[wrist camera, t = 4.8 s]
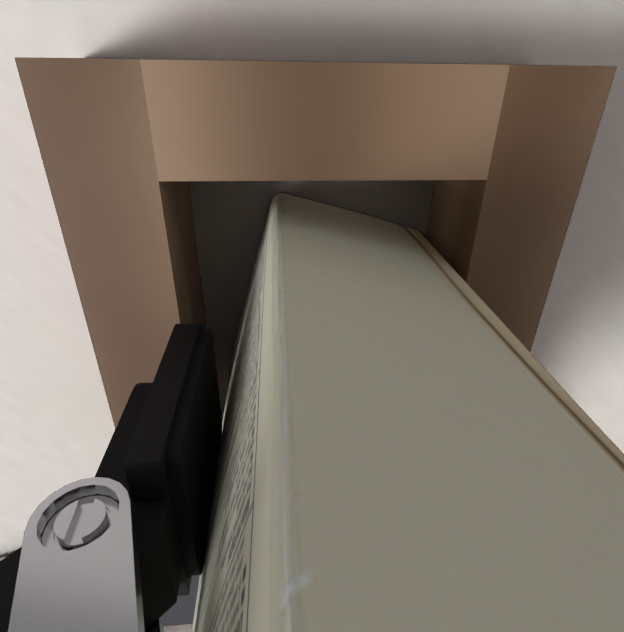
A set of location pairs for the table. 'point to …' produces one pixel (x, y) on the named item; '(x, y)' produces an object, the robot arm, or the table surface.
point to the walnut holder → (301, 171)
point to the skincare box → (399, 453)
